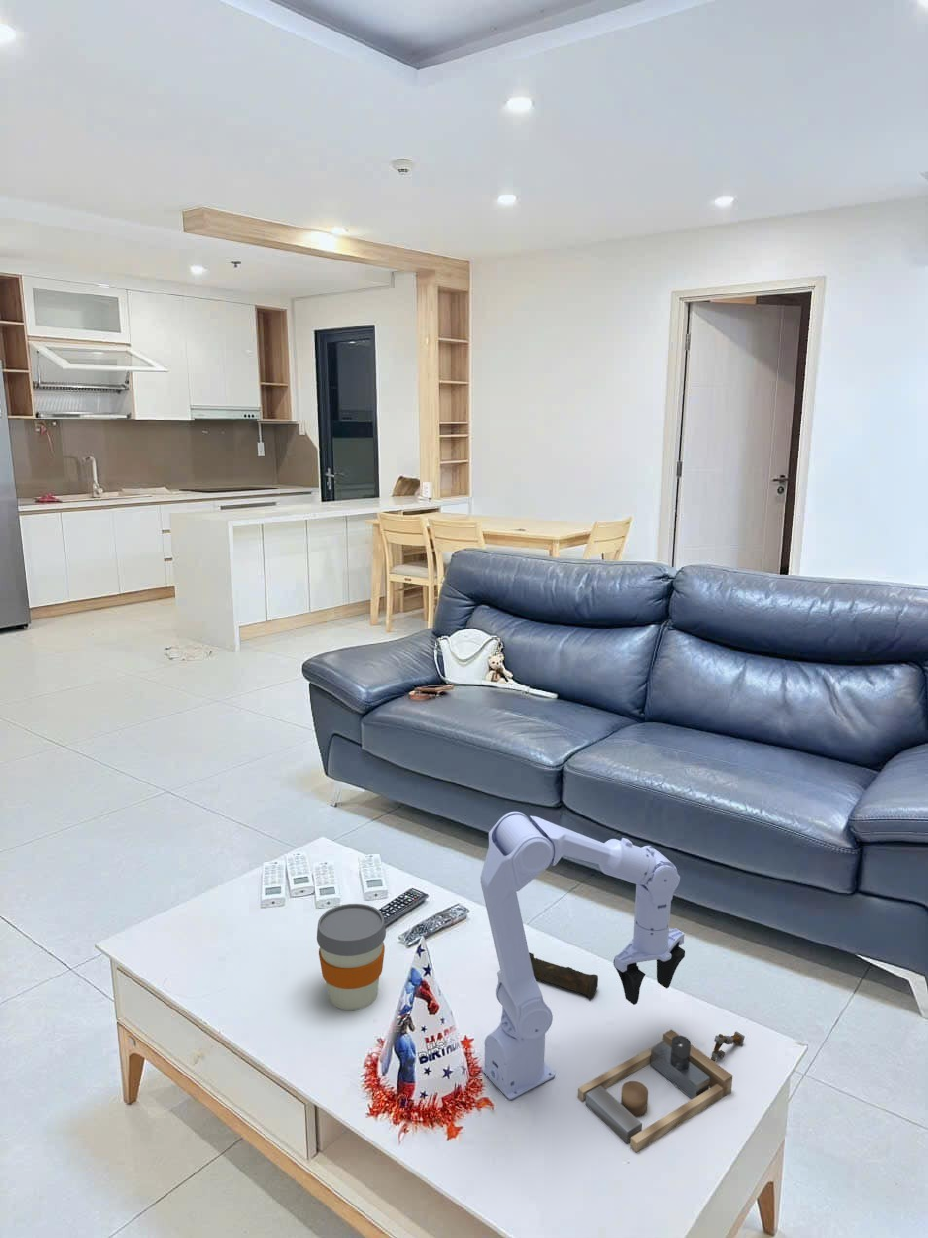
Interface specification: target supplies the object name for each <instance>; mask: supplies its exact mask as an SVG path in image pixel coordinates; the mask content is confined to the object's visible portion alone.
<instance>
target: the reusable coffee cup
mask: <svg viewBox="0 0 928 1238" xmlns="http://www.w3.org/2000/svg"><path fill="white" fill-rule="evenodd" d="M386 935H387V929H386V921H385V917H384V915H383V913H382V912H381V911H380V910H379V909H377V908H376V907H374V906H371V905H368V904H362V903H347V904H342V905H337V906H334V907H332V908H330V909H328V910H327V911H325V912H324V913H322V915H320V917H319V920H318V922H317V930H316V941H317V944H318V946H319V949H318V957H319V962H320V966H321V967H320V969H321V974H322V978H323V980H324V981H325V984H326V986H327V987H326V988H327V994H328V999H329V1003H331V1004H332V1006H334V1007H336V1008H338V1009H341V1010H346V1011H355V1010H356V1011H357V1010H361V1009H364V1008H366V1007H368V1006H370V1005H371V1004H372V1003H374V1001H375V1000H376V998H377V997H378V989H379V981H380V977H381V975H382V972H383V968H384V959H385V951H386V949H385V948H386V946H385V943H384V941H385V939H386V937H387V936H386Z"/></svg>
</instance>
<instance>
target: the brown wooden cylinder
mask: <svg viewBox="0 0 928 1238" xmlns="http://www.w3.org/2000/svg"><path fill="white" fill-rule="evenodd" d="M620 1098H621V1099H620V1100H621V1101H620V1102H621V1103H620V1104H621V1105H623V1106H624V1107H625V1108H626V1109H627V1110H628V1111H629V1112H630V1113H631V1114H632V1115H634V1116H635V1117H636V1118H637V1117H643V1116H644V1115H645V1114H647V1112H648V1104H649V1102H648V1101H649V1089H648V1088H647V1086H646V1085H645V1084H643V1082H640V1081H637V1080H629V1081H626V1082H624V1083H623V1085H622V1086H621V1097H620Z"/></svg>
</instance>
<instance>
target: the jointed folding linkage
mask: <svg viewBox="0 0 928 1238" xmlns="http://www.w3.org/2000/svg"><path fill="white" fill-rule="evenodd" d="M745 1037H746V1036H745V1035H743V1034H741V1033H740V1032H738V1031H737V1030H736V1031H734V1033H733V1035H731V1036H730V1035H723V1034H722V1033H720V1034H718V1035H715V1037H714V1042H715V1045H714V1048H713V1051H712V1052H711V1054H710V1055H711V1057H710V1059H711V1060H713V1061H714V1062H715V1063H716V1060H717V1059H718V1058H719V1059H722V1058H725V1057H726V1056H725V1055H726V1052H725V1051H724V1050H722V1049H720V1048H721V1047H723V1045H724V1044H726V1045H730V1044H731V1045H732V1044H736V1045H738V1046H739V1047H743V1045H744V1041H745Z"/></svg>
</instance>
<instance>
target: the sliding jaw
mask: <svg viewBox="0 0 928 1238" xmlns="http://www.w3.org/2000/svg"><path fill="white" fill-rule="evenodd" d="M691 1045H692V1043H691V1040H690V1039H689V1038H687V1037H686V1036H682V1035H680V1036H675V1037H673V1039H672V1044H671V1047H670V1046H669V1045H668V1044H666V1043H665V1042H663V1043H661V1044H659V1045H658V1046H656V1047H654V1048H652V1049H651V1063H650V1064H649V1065H650V1066H651V1067H652V1068H654V1069H655V1070H656V1071H657V1072H659V1073H660V1074H661V1075H662V1076H664V1077H665V1078H666V1079H667V1080H668V1081H669V1082H671V1084H673V1085H674V1086H676V1087H677V1088H678V1089H680V1091H682V1092H683V1093H684V1094H685V1095H687V1096H688V1097H689V1098H690V1099H691V1100H692V1099H694V1098H695V1097H697V1096H698V1095H700V1094H702V1093H703V1092H705V1091H706V1090H708V1089H710V1087H709V1080H710V1077H709V1076H707V1075H706V1074H705V1073H704V1072H702V1071H701V1070H700V1069H698V1068H697V1067H696V1066H695V1065H693V1064H692V1063H691V1062H690V1051H691Z"/></svg>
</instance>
